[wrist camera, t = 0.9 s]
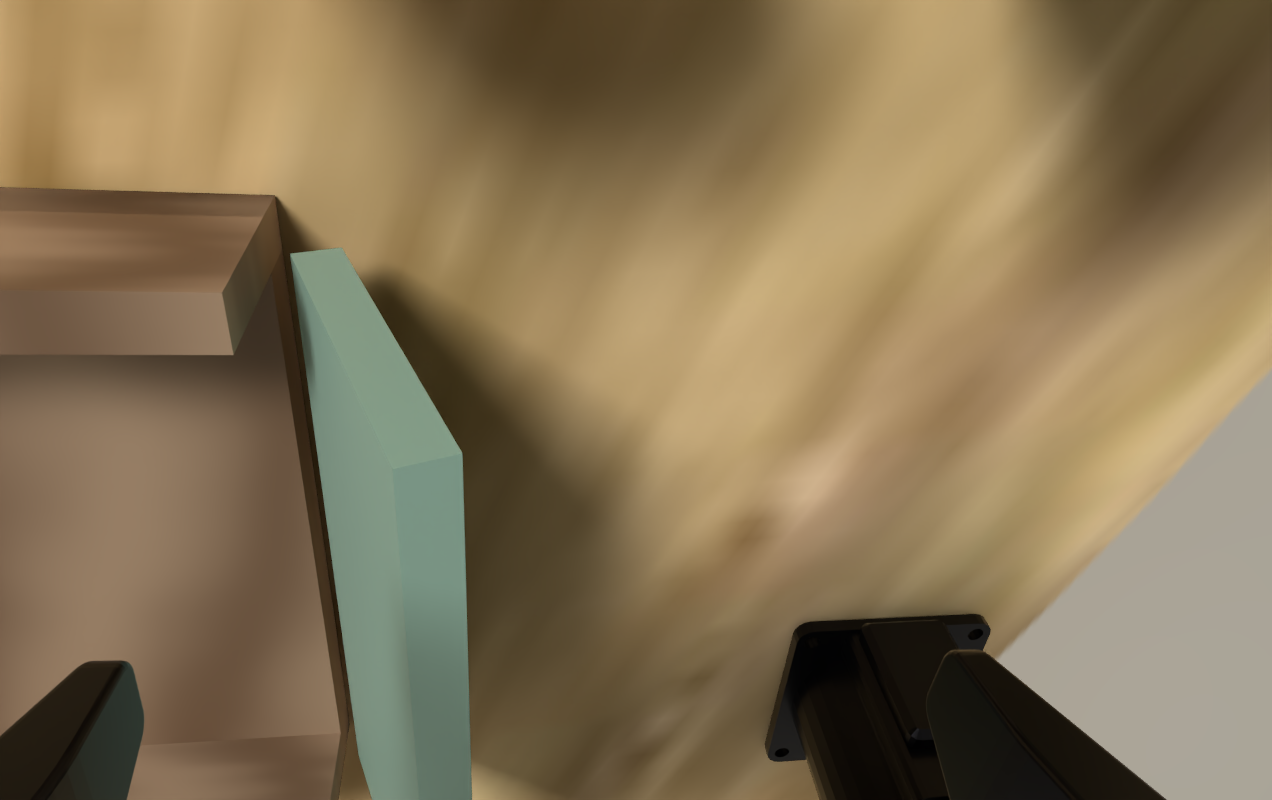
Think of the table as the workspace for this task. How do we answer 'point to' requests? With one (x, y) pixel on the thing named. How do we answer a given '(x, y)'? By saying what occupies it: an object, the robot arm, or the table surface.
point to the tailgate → (389, 538)
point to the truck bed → (165, 487)
